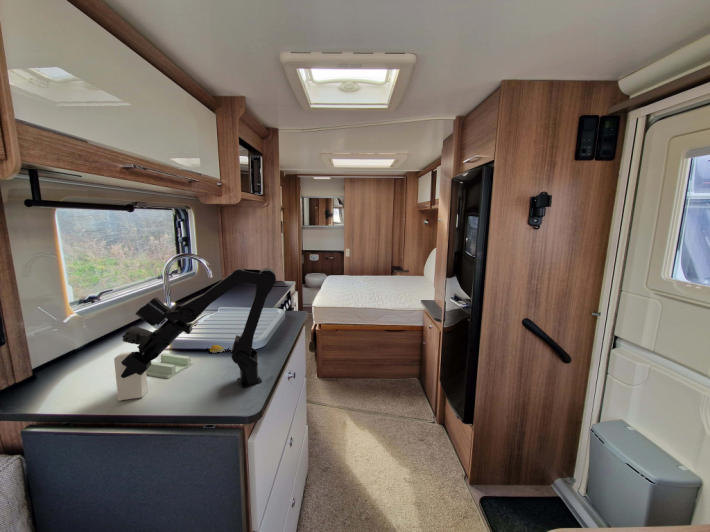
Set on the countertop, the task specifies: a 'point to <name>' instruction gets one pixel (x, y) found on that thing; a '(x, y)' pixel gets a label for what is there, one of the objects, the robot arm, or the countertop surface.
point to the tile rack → (169, 366)
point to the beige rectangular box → (129, 381)
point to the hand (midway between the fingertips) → (125, 373)
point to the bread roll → (216, 349)
